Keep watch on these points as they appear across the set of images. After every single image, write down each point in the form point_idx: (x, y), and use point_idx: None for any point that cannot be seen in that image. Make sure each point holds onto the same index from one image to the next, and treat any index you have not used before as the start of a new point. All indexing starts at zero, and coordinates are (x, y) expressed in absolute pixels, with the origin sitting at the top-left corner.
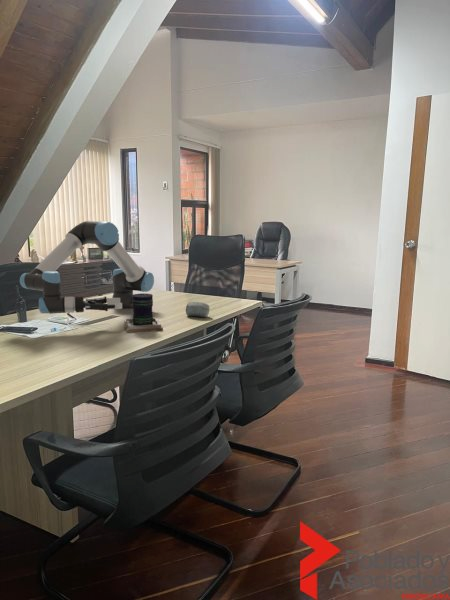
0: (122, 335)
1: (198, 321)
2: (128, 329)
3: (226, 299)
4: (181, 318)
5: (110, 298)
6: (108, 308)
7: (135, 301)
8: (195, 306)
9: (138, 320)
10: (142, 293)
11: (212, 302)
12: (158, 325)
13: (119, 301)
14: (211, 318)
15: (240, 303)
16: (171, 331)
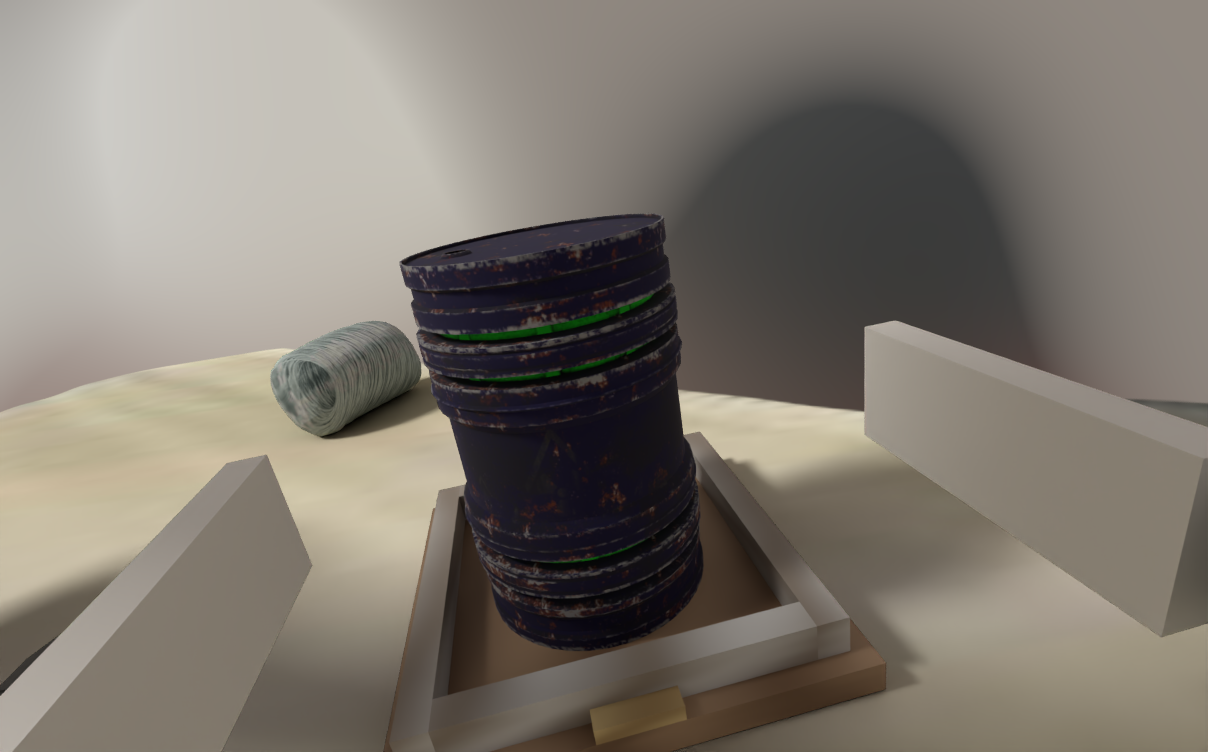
0: (1075, 713)
1: None
2: (853, 651)
3: (75, 397)
4: (377, 448)
5: (124, 637)
6: (1193, 584)
7: (625, 314)
8: (376, 346)
9: (695, 515)
10: (406, 258)
11: (80, 418)
12: (707, 444)
13: (291, 541)
14: None
15: (206, 364)
16: (726, 430)
